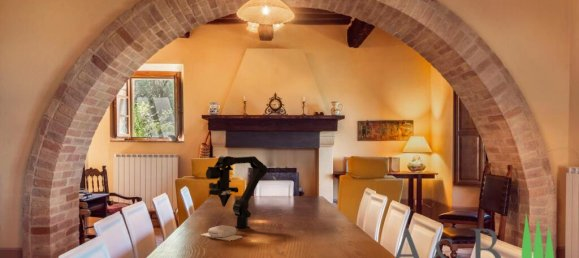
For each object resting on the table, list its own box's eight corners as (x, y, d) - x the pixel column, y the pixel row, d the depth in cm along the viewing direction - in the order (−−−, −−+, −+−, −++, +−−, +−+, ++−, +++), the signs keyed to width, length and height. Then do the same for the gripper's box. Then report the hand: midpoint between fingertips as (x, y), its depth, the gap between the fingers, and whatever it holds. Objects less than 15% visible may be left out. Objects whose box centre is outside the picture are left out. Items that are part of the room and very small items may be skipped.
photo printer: (236, 226, 233) (221, 230, 223) (236, 234, 233) (221, 239, 222) (221, 224, 238) (205, 228, 228) (221, 232, 238) (205, 236, 228)
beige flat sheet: (212, 232, 240) (212, 231, 240) (242, 237, 229) (242, 236, 229) (200, 235, 232) (200, 234, 232) (230, 240, 222) (230, 239, 222)
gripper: (224, 176, 260) (223, 203, 260) (201, 178, 244) (201, 207, 244) (239, 177, 254) (238, 205, 254) (217, 179, 239) (216, 209, 238)
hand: (223, 206), depth 248 cm, fingers closed
